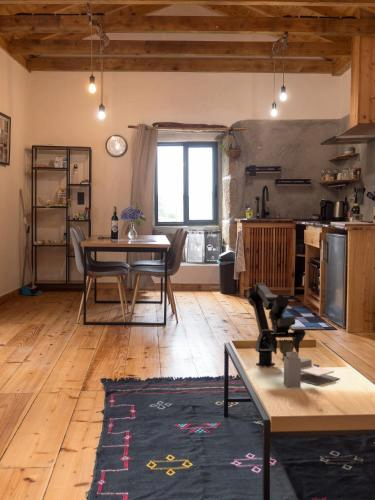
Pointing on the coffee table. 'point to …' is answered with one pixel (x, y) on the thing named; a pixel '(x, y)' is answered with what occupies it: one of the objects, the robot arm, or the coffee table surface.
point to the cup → (286, 346)
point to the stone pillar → (292, 370)
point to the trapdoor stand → (317, 378)
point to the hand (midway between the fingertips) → (287, 353)
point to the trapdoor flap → (313, 368)
